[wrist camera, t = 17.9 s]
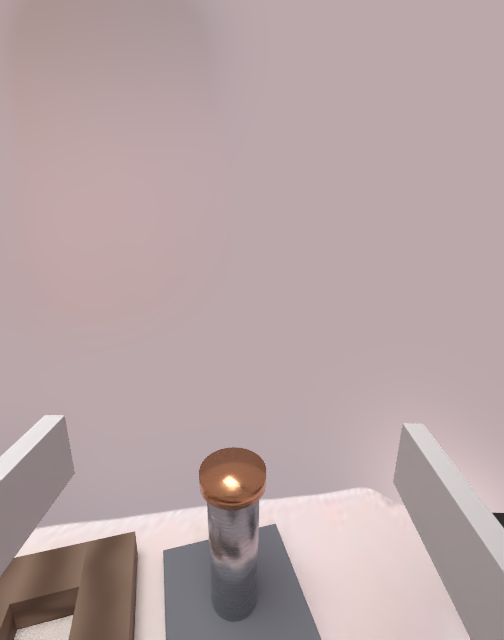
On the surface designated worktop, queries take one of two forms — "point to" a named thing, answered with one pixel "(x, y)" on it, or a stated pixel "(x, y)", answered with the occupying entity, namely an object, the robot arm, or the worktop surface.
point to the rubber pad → (272, 604)
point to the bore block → (74, 589)
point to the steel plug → (233, 528)
